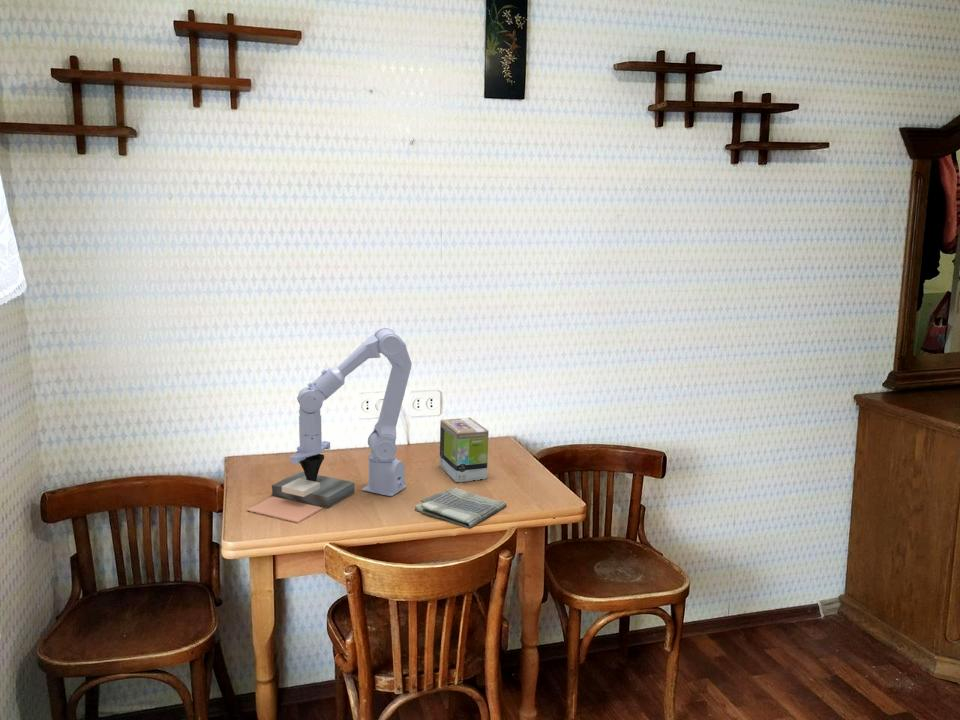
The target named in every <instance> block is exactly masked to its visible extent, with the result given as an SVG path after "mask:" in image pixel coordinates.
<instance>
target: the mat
mask: <svg viewBox="0 0 960 720" xmlns="http://www.w3.org/2000/svg"><path fill="white" fill-rule="evenodd" d="M321 509H322V510H323V509H324V507H320V506H315V505H311V504H306V503H302V502H297V501H293V500H289V499H284V498H280V497H275V496H271V497H268V498H266V499H265V500H263V501H261V502H259V503H257V504H255V505H252V506H251V507H250V508H247V509H246V512H248V511H251V512H250V513H252V512H256V513H255V514H257V513H259V514H258V515H261V514H264V515H263V516H265V515H268V516H267V517H269V516H272V517H271V518H273V517H275V518H274V519H278V518H279V519H278V520H282V519H284V520H283V521H286V520H288V521H287V522H290V521H292V522H291V523H294V522H295V524H300V523H301V522H303V521H304V520H306V519H308V518H310V517H312V516H313V515H315V514H316V512H317V513H318V512H320V511H322V510H321ZM319 510H320V511H319ZM314 513H315V514H314ZM311 515H312V516H311ZM299 522H300V523H299Z"/></svg>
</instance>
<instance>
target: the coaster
mask: <svg viewBox="0 0 960 720" xmlns="http://www.w3.org/2000/svg"><path fill="white" fill-rule="evenodd" d="M318 489H320V483H319V482H315V481H310V480H305V479H301V478H298V479H296V480H294V481H292V482H290V483H288V484H286V485H284V486H282V492H284V493H289V494H293V495H297V496H302V497H305V496H306V495H308V494H310V493H312V492H314V491H316V490H318Z"/></svg>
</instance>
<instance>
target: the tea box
mask: <svg viewBox="0 0 960 720" xmlns="http://www.w3.org/2000/svg"><path fill="white" fill-rule="evenodd" d="M439 429H440V430H439V431H440V432H439V433H440V434H439V437H440V438H439V467H440V468H441V469H442V470H443V471H444V472H445V473H446V474H447V475H448V476H449V477H450V478H451V479H452V480H453V481H454V482H455V483H465V482H473V480H475V481H481V480H480V479H483V480H487V479H488V461H489V434H490V433H489V430H488V429H486V428H485V427H484V426H483V425H481V424H480V423H478V422H477V421H475V420H474V419H473V418H471V417H462V418H460V417H459V418H449V419H440V427H439Z"/></svg>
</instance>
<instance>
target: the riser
mask: <svg viewBox="0 0 960 720" xmlns="http://www.w3.org/2000/svg"><path fill="white" fill-rule="evenodd" d="M298 478H301V479H305V480H307V479H306V476H305V473H304V471H298V472H295V473H294V474H292V475H290V476H288V477H286V478H284V479H282V480H280V481H277V482H276V483H274V484H271V495H272V496H273V497H278V498H282V499H287V500H291V501H296V502H297V501H298V502H300V503H304V504H309V505H313V506H318V507H320V506H321V507H322V508H324V507H326V508H325V509H329V507H330V508H331V507H333V506H334V504H335V505H336V504H338V503H340V502H342V501H344V500H345V499H347V498H348V497H351V496H352V495H353V494H355V493H356V492H355V481H349V480H344V479H341V478H340V479H339V478H335V477H330V476H326V475H319V474H318V476H317V480H316V482H319V483H320V489H318V490H316V491H314V492H312V493H310V494H308V495H306V496H305V497H302V496H297V495H293V494H289V493H284V492H282V486H284V485H286V484H288V483H290V482H292V481H294V480H296V479H298ZM272 496H271V497H272Z"/></svg>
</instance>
